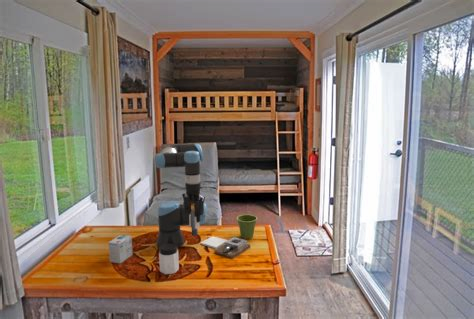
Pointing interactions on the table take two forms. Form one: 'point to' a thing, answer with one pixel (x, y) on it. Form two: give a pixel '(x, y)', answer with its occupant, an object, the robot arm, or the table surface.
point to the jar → (168, 258)
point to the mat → (213, 242)
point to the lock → (233, 247)
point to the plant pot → (246, 225)
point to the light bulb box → (120, 248)
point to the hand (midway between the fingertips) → (194, 227)
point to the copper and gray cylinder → (193, 221)
